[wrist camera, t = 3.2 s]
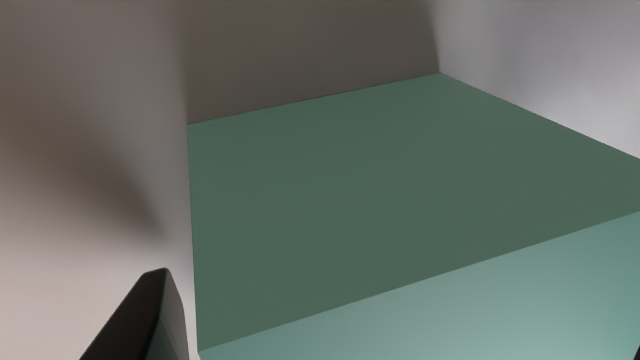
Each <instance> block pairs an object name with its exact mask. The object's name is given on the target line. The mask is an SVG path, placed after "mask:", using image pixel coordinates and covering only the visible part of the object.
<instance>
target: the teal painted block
mask: <svg viewBox="0 0 640 360" xmlns="http://www.w3.org/2000/svg"><path fill="white" fill-rule="evenodd" d="M187 135H188V157H189V178H190V200H191V221H192V242H193V264H194V285H195V306H196V328H197V349H198V354H199V357H200V359H201V360H633V359H634V357H635V354H636V352H637V350H638V348H639V345H640V159H638V158H636V157H634V156H631V155H629V154H627V153H625V152H622V151H620V150H618V149H615V148H613V147H611V146H608V145H606V144H604V143H601V142H599V141H597V140H595V139H592V138H590V137H588V136H585V135H583V134H581V133H578V132H576V131H574V130H571V129H569V128H567V127H565V126H562V125H560V124H558V123H555V122H553V121H551V120H548V119H546V118H544V117H542V116H539V115H537V114H535V113H532V112H530V111H528V110H525V109H523V108H521V107H518V106H516V105H514V104H512V103H509V102H507V101H505V100H502V99H500V98H498V97H495V96H493V95H491V94H488V93H486V92H484V91H482V90H479V89H477V88H475V87H472V86H470V85H468V84H465V83H463V82H461V81H458V80H456V79H454V78H452V77H449V76H447V75H445V74H442V73H435V74H430V75H426V76H421V77H416V78H411V79H406V80H401V81H397V82H392V83H387V84H382V85H377V86H372V87H367V88H363V89H358V90H353V91H348V92H343V93H338V94H333V95H329V96H324V97H319V98H314V99H309V100H304V101H299V102H295V103H290V104H285V105H280V106H275V107H270V108H266V109H261V110H256V111H251V112H246V113H241V114H236V115H232V116H227V117H222V118H217V119H212V120H207V121H202V122H198V123H193V124H188V125H187Z"/></svg>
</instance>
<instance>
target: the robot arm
mask: <svg viewBox="0 0 640 360" xmlns="http://www.w3.org/2000/svg"><path fill="white" fill-rule="evenodd" d="M79 360H189V352H188V343H187V334H186V325H185V316H184V309H183V304H182V301H181V298H180V295H179V293H178V290H177V288H176V285H175V282H174V280H173V277H172V275H171V273H170V271H169V270H168V269H167V268H165V267H164V268H160V269H156V270H153V271H149V272H146V273H144V274H143V275H142V276H141V277H140V278H139V279H138V281H137V282H136V283H135V285H134V286H133V287H132V289H131V290H130V291H129V293H128V294H127V296H126V297H125V298H124V300H123V301H122V302H121V304H120V305H119V306H118V308H117V309H116V310H115V312H114V313H113V314H112V316H111V317H110V318H109V320H108V321H107V323H106V324H105V325H104V327H103V328H102V329H101V331H100V332H99V333H98V335H97V336H96V337H95V339H94V340H93V341H92V343H91V344H90V345H89V347H88V348H87V350H86V351H85V352H84V354H83V355H82V356H81V358H80V359H79ZM633 360H640V345H639V348H638V350H637V352H636V354H635V357H634V359H633Z"/></svg>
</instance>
